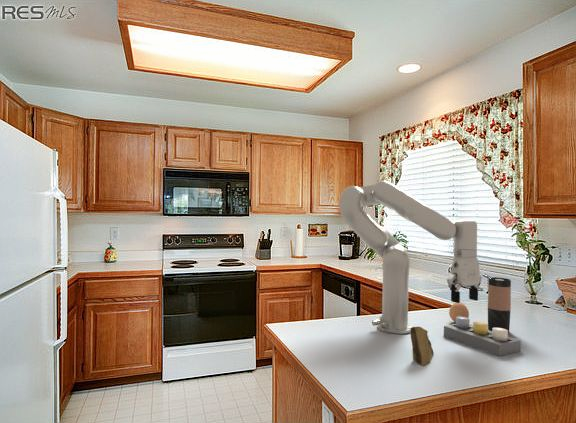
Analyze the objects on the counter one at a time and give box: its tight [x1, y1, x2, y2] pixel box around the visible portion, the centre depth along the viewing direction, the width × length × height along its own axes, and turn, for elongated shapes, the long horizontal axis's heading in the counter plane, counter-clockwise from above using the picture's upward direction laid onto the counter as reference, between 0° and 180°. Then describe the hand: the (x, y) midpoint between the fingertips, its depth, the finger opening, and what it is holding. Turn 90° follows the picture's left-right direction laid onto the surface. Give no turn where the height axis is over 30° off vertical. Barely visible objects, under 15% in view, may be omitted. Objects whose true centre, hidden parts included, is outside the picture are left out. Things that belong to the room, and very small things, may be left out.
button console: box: [443, 323, 522, 357], centre depth 127 cm, size 11×21×4 cm, turn 27°
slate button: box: [455, 317, 470, 329], centre depth 133 cm, size 4×4×3 cm
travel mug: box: [487, 276, 512, 334], centre depth 142 cm, size 8×8×20 cm
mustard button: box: [472, 321, 488, 335], centre depth 127 cm, size 4×4×3 cm
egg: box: [448, 301, 470, 323], centre depth 150 cm, size 7×7×8 cm
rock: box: [410, 326, 435, 367], centre depth 111 cm, size 11×9×10 cm
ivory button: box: [492, 328, 509, 342], centre depth 120 cm, size 4×4×3 cm
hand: (464, 301), depth 133 cm, fingers open, 9 cm apart
